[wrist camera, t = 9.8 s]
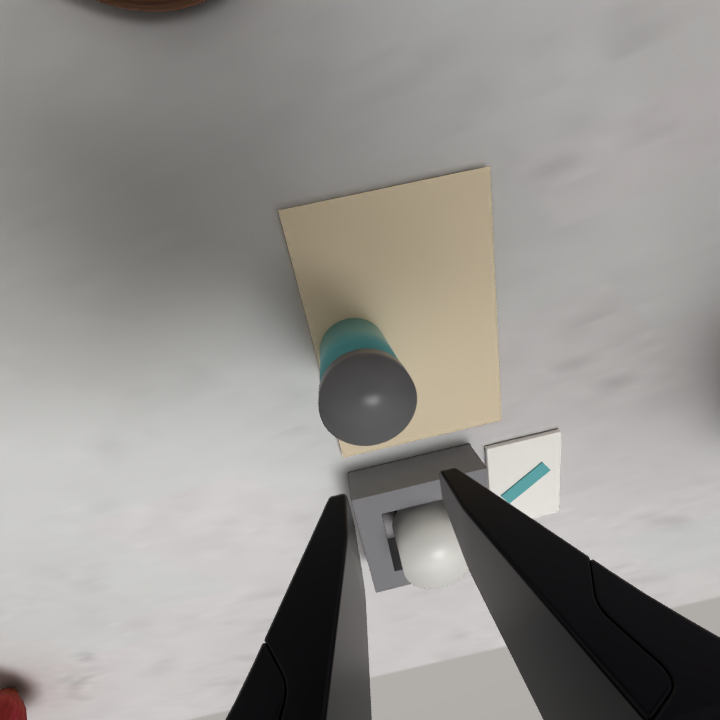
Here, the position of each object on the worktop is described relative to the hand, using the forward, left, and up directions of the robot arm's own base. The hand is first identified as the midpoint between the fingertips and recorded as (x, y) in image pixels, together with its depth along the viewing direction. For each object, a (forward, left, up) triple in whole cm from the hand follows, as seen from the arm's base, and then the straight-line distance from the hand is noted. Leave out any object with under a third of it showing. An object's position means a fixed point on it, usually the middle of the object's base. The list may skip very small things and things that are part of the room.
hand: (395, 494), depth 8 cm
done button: (-2, +12, -10) cm, 15 cm away
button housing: (-2, +12, -11) cm, 16 cm away
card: (-10, +12, -11) cm, 19 cm away
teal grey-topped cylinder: (0, 0, -11) cm, 11 cm away
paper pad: (-3, 0, -11) cm, 11 cm away
